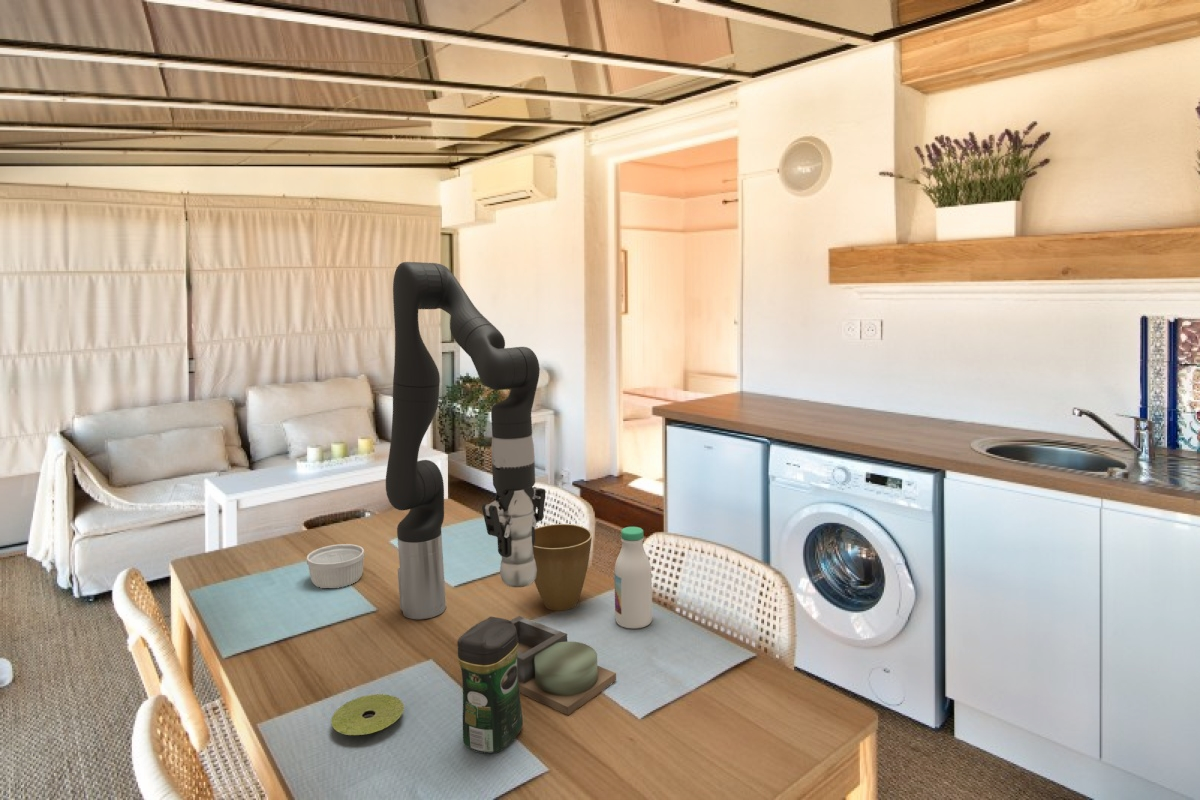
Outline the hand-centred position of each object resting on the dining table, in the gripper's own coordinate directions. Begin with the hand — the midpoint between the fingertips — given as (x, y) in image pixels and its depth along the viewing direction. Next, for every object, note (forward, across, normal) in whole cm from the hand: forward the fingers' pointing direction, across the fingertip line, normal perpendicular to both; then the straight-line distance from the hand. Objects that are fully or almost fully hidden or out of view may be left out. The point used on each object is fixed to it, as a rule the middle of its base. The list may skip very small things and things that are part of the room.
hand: (517, 550), depth 130 cm
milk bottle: (+23, -27, +6) cm, 36 cm away
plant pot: (+23, -24, -12) cm, 35 cm away
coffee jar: (+23, +18, +11) cm, 31 cm away
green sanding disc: (+23, +28, -8) cm, 37 cm away
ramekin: (+23, -2, -65) cm, 69 cm away
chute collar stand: (+23, 0, +5) cm, 23 cm away
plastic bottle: (+7, 0, 0) cm, 7 cm away
